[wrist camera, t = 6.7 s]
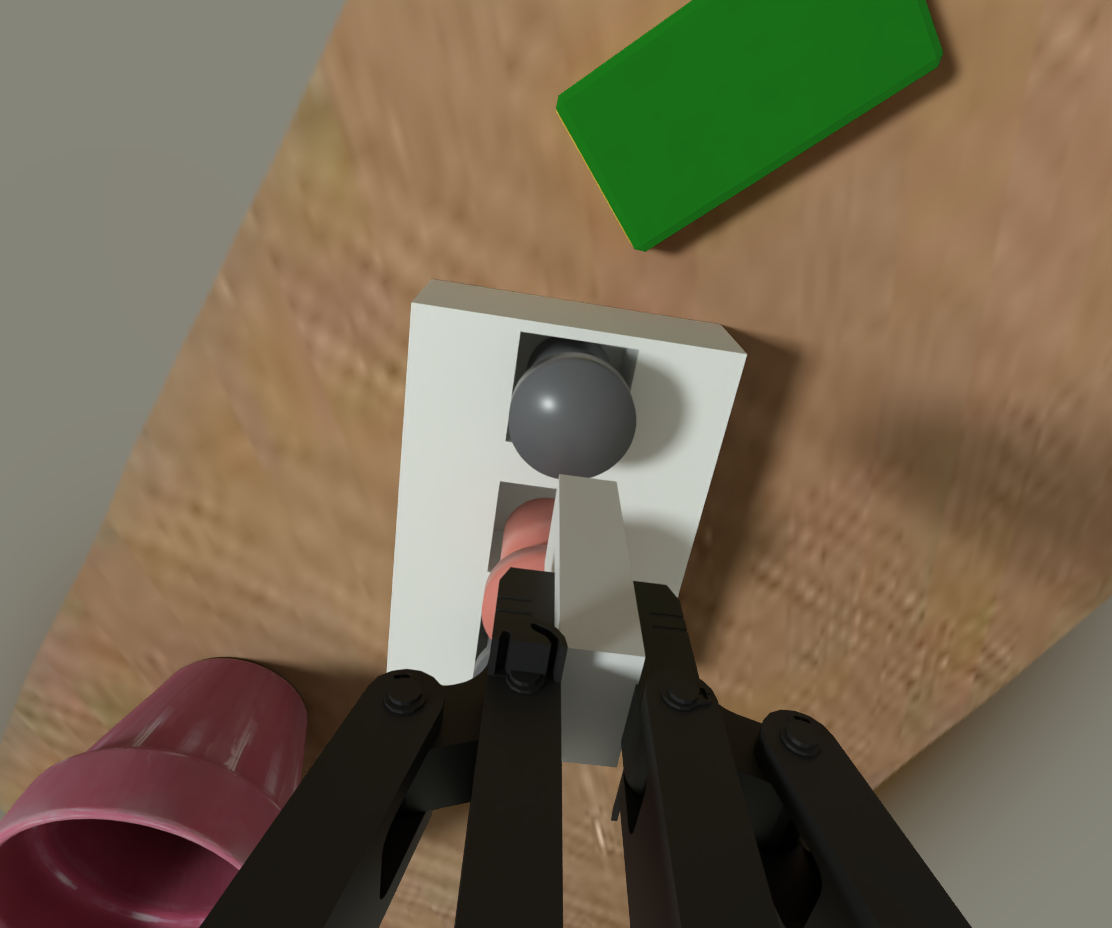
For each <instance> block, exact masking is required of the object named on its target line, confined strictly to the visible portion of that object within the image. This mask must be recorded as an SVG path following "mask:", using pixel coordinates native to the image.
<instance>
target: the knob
mask: <svg viewBox="0 0 1112 928" xmlns="http://www.w3.org/2000/svg"><path fill="white" fill-rule="evenodd" d="M508 425H509V433H510V437H511V440H512V443H513V445H514V447H515V449H516V451H517V452H518V454H519V455H520V456H521V458H522V459H523V460H524V461H525V462H526V463H527V464H528V465H529V466H531V467H532V468H533V469H535V470H536V471H538V472H540V473H542V474H544V475H546V476H549V477H552V478H555V479H559V474H563V475H570V476H578V477H585V478H591V477H595V476H597V475H599V474H602V473H604V472H605V471H607V470H609V469H610V468H611V467H613V466H614V465H615V464H616V463H618V462H619V461H620V460H621V459H622V457H623V456H624V455H625V454H626V452H627V450H628V449H629V447H630V445H631V443H632V441H633V438H634V435H635V430H636V410H635V406H634V402H633V399H632V396H631V393H630V390H629V388H628V385H627V383H626V382H625V380H624V379H623V377H622V376H621V375H620V373H619V372H618V371H617V370H616V369H615V368H614V367H613V366H611V365H610V361H609V359H608V356H607V354H606V353H605V351H604V350H603V349H602V347H601V346H600V345H599V344H598V343H593V342H586V341H580V340H573V339H567V338H560V337H554V336H552V337H550V338H548V339H546V340H544V341H543V342H542V343H540V344H539V345H538V346H537V347H536V348H535V350H534V351H533V353H532V354H531V356H530V358H529V361H528V364H527V368H526V372H525V373H524V375H523V376H522V377H521V379H520V380H519V381H518V383H517V385H516V387H515V389H514V392H513V394H512V398H511V403H510V410H509V419H508Z"/></svg>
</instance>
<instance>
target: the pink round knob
mask: <svg viewBox="0 0 1112 928" xmlns="http://www.w3.org/2000/svg"><path fill="white" fill-rule="evenodd" d="M554 503H555V499H554V498H538V499H533V500H530V501H527V502H525V503H523V504H521V505H520V506H518V507H517V508H516V509H515V510H514V511H513V512H512V513H511V514H510V516H509V517H508V519H507V521H506V524H505V527H504V533H503V542H502V550H501V559H500V562H498V563H497V564H496V566H495V567H494V568H493V569H492V571H491V573H490V574H489V576H488V579H487V581H486V585H485V589H484V596H483V603H482V621H483V625H484V628H485V630H486V633H487V634H488V636H489V637H490V639H491V640H492V632H493V625H494V617H495V610H496V602H497V595H498V587H499V580H500V579H501V577H502V576H503V575H504V574H505V573H506V572H507V571H508V570H509V568H510V567H514V568H522V569H530V570H538V571H544V568H545V557H546V551H547V545H548V539H549V533H550V527H551V521H552V515H553V509H554Z"/></svg>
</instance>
